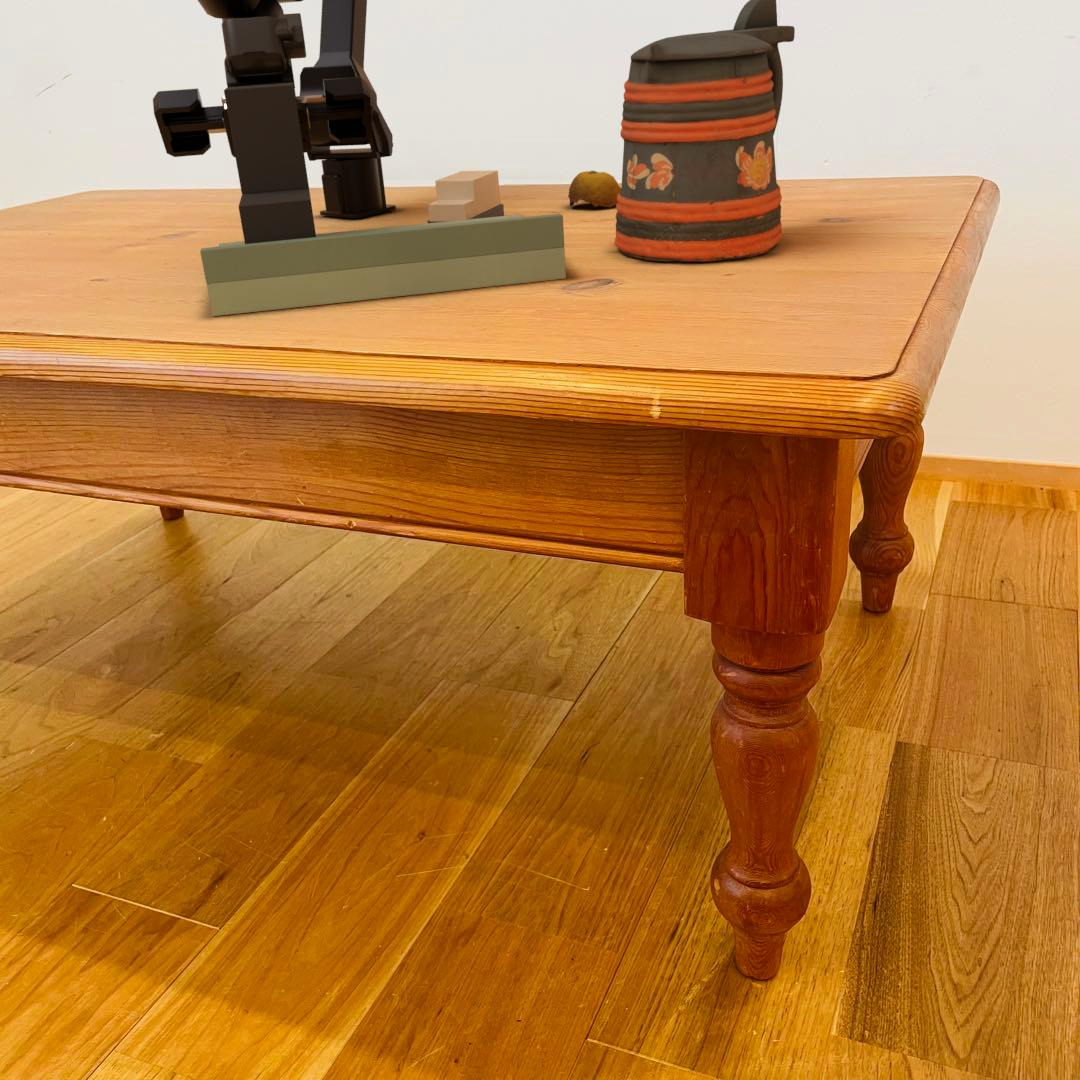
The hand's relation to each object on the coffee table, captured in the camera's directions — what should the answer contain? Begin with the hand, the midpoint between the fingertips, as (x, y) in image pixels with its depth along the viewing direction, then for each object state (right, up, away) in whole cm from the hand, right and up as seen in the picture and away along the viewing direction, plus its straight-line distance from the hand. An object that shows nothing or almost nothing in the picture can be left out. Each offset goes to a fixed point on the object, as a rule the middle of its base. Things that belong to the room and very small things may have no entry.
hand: (276, 193), depth 94 cm
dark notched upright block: (+2, -6, -4) cm, 8 cm away
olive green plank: (+10, -8, -1) cm, 12 cm away
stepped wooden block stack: (+16, +2, +18) cm, 24 cm away
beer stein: (+39, -4, +3) cm, 39 cm away
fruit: (+31, +7, +26) cm, 41 cm away
